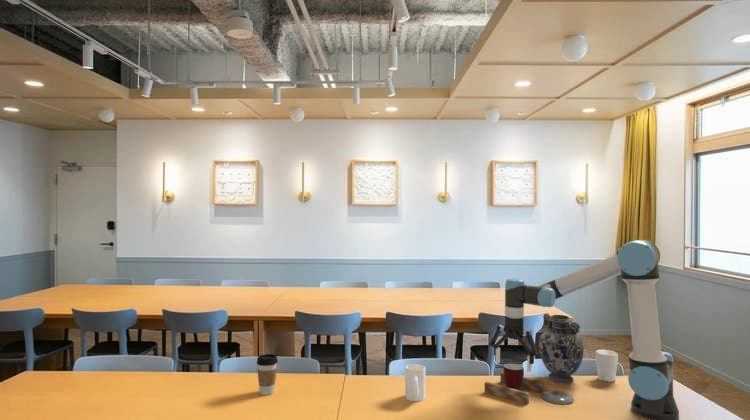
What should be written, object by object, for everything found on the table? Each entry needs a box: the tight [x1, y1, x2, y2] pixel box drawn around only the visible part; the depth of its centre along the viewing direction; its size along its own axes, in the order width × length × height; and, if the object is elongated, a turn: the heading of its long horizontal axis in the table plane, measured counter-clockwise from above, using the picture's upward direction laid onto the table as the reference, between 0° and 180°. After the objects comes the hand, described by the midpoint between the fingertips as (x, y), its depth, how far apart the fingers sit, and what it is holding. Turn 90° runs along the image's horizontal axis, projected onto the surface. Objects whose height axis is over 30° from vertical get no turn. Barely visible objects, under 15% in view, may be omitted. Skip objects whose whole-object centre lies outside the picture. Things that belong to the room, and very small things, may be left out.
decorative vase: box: [538, 313, 585, 384], centre depth 202 cm, size 21×19×28 cm
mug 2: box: [502, 363, 524, 390], centre depth 187 cm, size 11×8×10 cm
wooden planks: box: [484, 371, 544, 405], centre depth 187 cm, size 18×17×4 cm
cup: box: [594, 349, 619, 383], centre depth 202 cm, size 9×9×12 cm
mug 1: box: [404, 363, 426, 402], centre depth 179 cm, size 8×12×12 cm
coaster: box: [541, 390, 575, 406], centre depth 180 cm, size 12×12×1 cm
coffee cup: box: [256, 353, 278, 396], centre depth 185 cm, size 8×8×15 cm
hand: (513, 367), depth 187 cm, fingers open, 13 cm apart
